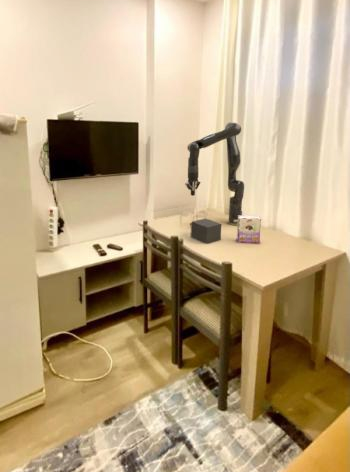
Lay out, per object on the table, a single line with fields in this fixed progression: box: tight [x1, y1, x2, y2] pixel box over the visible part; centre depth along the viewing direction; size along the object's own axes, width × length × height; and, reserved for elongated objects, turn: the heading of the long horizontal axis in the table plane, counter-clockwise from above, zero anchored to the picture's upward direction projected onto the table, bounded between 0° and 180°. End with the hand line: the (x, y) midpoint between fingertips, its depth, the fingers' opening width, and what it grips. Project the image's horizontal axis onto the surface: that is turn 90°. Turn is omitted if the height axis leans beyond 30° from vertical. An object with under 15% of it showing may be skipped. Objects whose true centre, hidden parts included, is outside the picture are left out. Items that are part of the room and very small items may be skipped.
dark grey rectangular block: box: [190, 217, 222, 245], centre depth 210 cm, size 15×13×11 cm
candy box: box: [236, 215, 262, 244], centre depth 205 cm, size 14×6×16 cm, turn 84°
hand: (192, 195), depth 229 cm, fingers closed
